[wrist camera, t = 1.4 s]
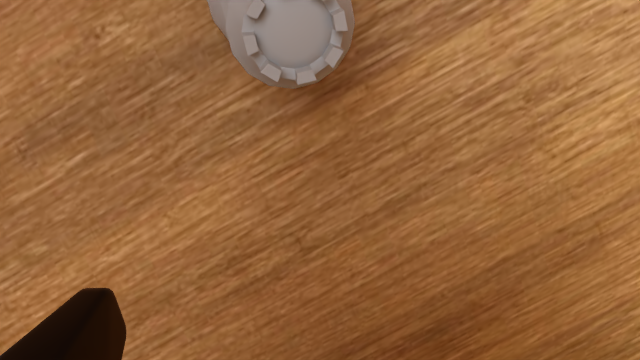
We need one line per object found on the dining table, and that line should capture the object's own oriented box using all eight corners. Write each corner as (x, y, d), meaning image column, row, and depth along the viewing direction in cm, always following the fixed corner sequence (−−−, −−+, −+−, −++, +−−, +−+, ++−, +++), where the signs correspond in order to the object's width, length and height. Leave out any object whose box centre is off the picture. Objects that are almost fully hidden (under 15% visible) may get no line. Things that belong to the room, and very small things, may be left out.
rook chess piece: (178, -8, 21) (159, 40, 14) (263, -109, 20) (291, -116, 13) (273, 75, 23) (300, 155, 15) (354, -14, 22) (424, 27, 14)
